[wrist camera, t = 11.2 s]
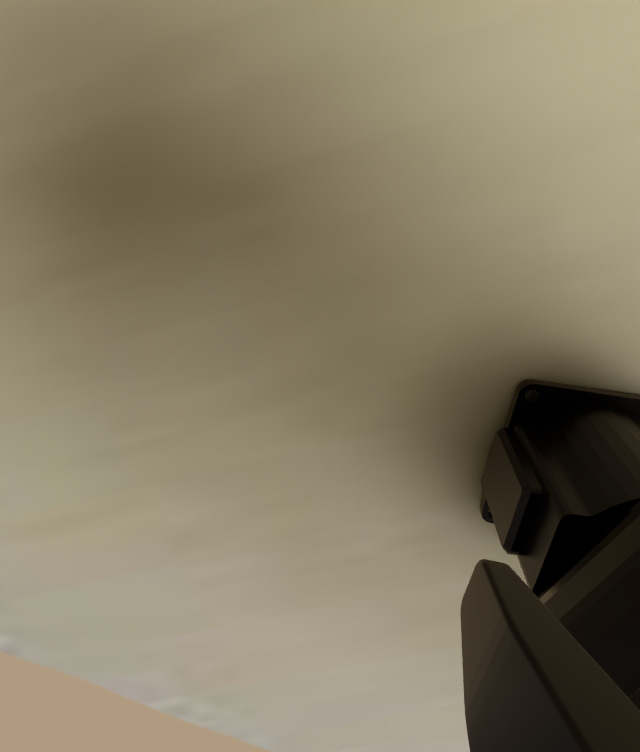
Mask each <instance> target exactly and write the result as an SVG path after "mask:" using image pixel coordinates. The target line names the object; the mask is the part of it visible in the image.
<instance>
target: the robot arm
mask: <svg viewBox="0 0 640 752" xmlns="http://www.w3.org/2000/svg"><path fill="white" fill-rule="evenodd" d="M529 390H536V393H535V394H534V395H533V396H532V397H525V394H526V392H528V391H529ZM481 484H482V487H483V490H484V494H483V498H482V501H481V504H480V512H481V515H482V517H483V519H484V520H485V521H486V522H489V523H494V524H495V527H496V530H497V533H498V536H499V539H500V542H501V545H502V547H503V549H504V550H505V551H506V553H507V554H512V555H517V556H518V559H519V562H520V565H521V567H522V570H523V573H524V576H525V579H526V581H527V584H528V586H527V585H526V584H525V583H524V582H523V581H522V580H521V578H520V577H519V576H518V575H517V574H516V573H515V572H514V571H513V570H512V568H510V567H509V566H508V565H507V564H504V563H500V562H495V561H491V560H486V559H483V560H480V561H479V562H478V563H477V564H476V566H475V569H474V571H473V574H472V576H471V579H470V581H469V584H468V586H467V589H466V591H465V593H464V596H463V599H462V604H461V634H462V658H463V682H464V703H465V717H466V725H467V733H468V740H469V747H470V752H640V395H634V394H628V393H621V392H614V391H607V390H600V389H594V388H587V387H580V386H573V385H567V384H560V383H553V382H546V381H539V380H525V381H523V382H521V383H520V384H519V385H518V386H517V388H516V390H515V394H514V397H513V400H512V403H511V407H510V410H509V413H508V416H507V420H506V423H505V426H504V427H502V428H500V429H499V430H498V431H496V433H495V437H494V440H493V443H492V446H491V450H490V453H489V456H488V460H487V463H486V466H485V470H484V473H483V476H482V480H481ZM489 510H490V512H488V511H489Z"/></svg>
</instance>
